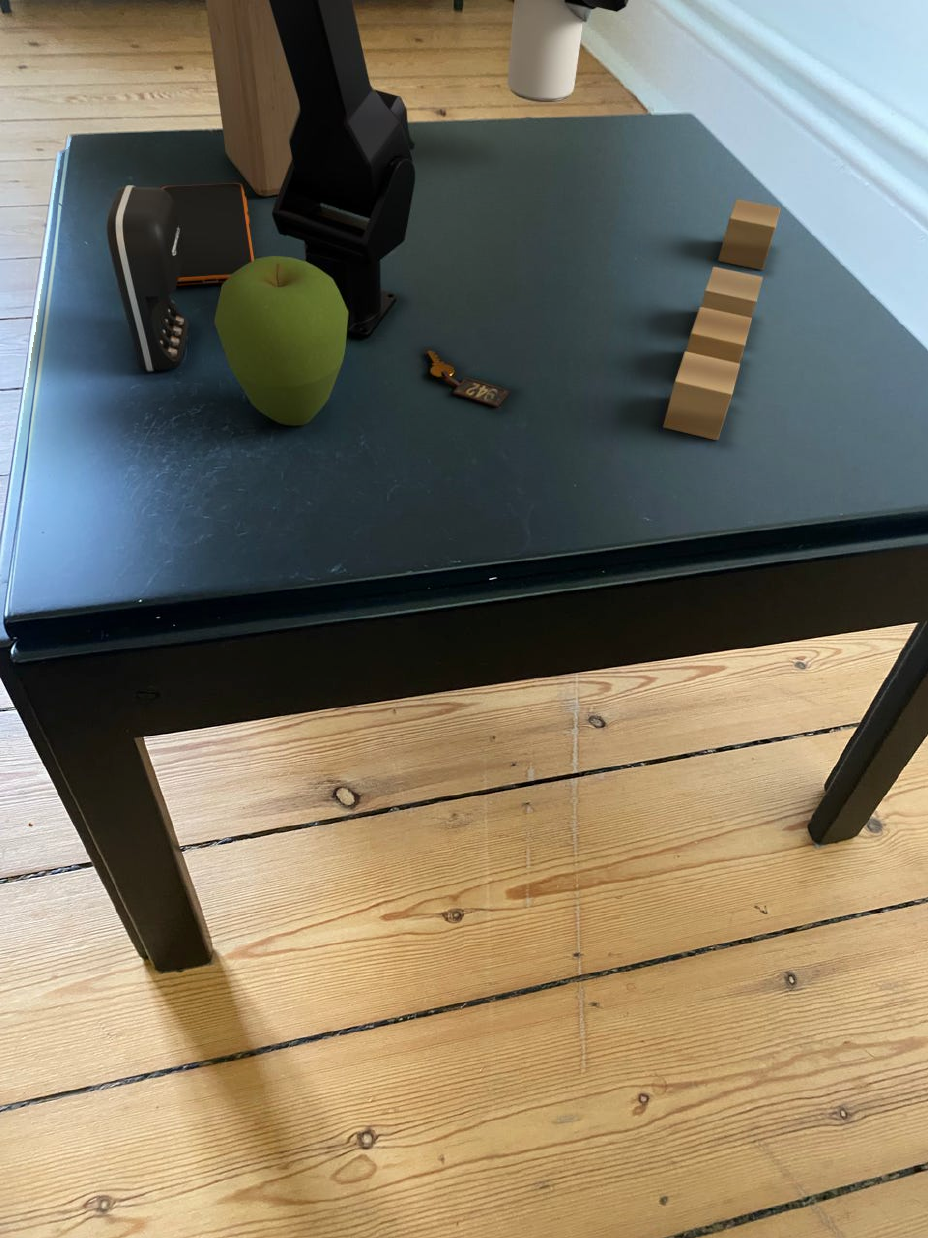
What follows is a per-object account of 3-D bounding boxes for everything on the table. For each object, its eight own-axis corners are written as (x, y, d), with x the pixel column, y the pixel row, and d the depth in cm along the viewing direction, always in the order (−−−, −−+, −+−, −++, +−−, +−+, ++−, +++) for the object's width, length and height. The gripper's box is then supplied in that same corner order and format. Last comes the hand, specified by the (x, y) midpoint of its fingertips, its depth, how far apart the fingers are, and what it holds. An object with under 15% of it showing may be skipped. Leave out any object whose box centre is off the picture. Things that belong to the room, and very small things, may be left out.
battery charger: (191, 375, 70) (162, 225, 61) (138, 375, 70) (101, 224, 61) (201, 323, 75) (175, 176, 66) (151, 323, 74) (119, 175, 66)
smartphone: (164, 288, 77) (162, 278, 77) (161, 194, 88) (160, 185, 87) (258, 281, 79) (257, 272, 78) (244, 190, 89) (243, 181, 89)
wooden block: (224, 158, 94) (190, -89, 79) (319, 143, 97) (304, -97, 82) (258, 202, 88) (229, -55, 73) (357, 184, 92) (349, -65, 76)
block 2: (742, 346, 76) (756, 301, 73) (693, 335, 77) (705, 290, 74) (749, 321, 79) (762, 276, 76) (701, 310, 80) (713, 266, 77)
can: (533, 72, 95) (548, -72, 86) (586, 91, 93) (607, -56, 84) (493, 88, 92) (504, -61, 83) (547, 108, 89) (565, -43, 80)
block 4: (717, 441, 68) (732, 394, 65) (662, 427, 69) (674, 380, 66) (725, 409, 71) (740, 363, 68) (672, 397, 71) (685, 350, 68)
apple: (218, 393, 69) (191, 240, 60) (329, 371, 71) (320, 221, 63) (250, 466, 64) (226, 311, 55) (369, 439, 66) (364, 286, 57)
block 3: (730, 391, 72) (745, 344, 69) (678, 379, 73) (690, 332, 70) (738, 363, 75) (752, 317, 72) (687, 351, 75) (699, 305, 72)
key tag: (514, 395, 70) (515, 388, 70) (490, 413, 69) (490, 406, 68) (430, 351, 73) (430, 344, 73) (404, 367, 72) (404, 361, 71)
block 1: (762, 270, 85) (775, 227, 82) (717, 261, 85) (729, 217, 82) (767, 250, 87) (781, 207, 84) (724, 241, 88) (736, 198, 85)
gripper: (667, -208, 70) (684, -59, 85) (446, -242, 75) (499, -96, 90) (607, -57, 71) (634, 64, 86) (393, -102, 76) (454, 19, 91)
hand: (554, 8), depth 88 cm, fingers closed on can, 6 cm apart
